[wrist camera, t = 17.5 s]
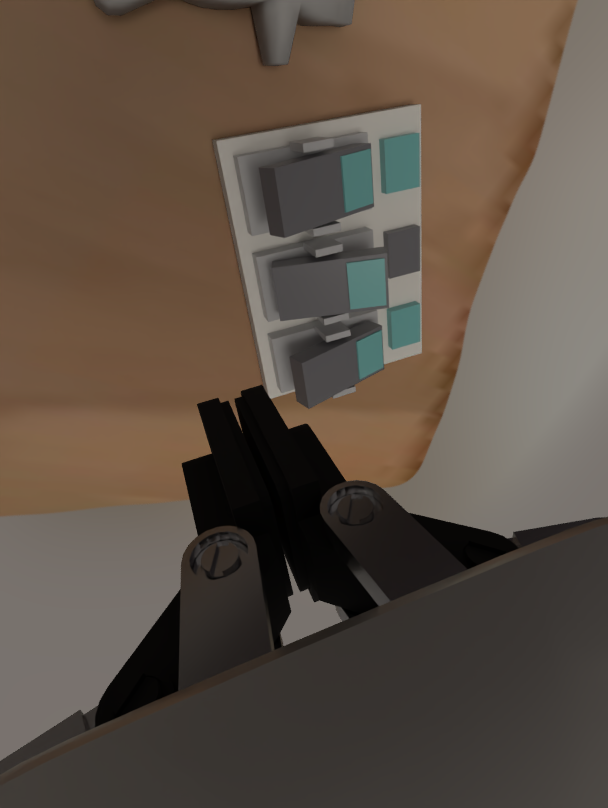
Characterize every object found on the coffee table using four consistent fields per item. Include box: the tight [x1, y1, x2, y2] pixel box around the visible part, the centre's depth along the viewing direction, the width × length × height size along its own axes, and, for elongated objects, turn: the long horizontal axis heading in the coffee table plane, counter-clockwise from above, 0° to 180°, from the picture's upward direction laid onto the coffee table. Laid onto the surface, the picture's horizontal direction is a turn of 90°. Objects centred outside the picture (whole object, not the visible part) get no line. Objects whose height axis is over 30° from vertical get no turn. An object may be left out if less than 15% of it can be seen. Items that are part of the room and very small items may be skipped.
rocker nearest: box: [259, 143, 374, 238], centre depth 32 cm, size 4×8×2 cm, turn 98°
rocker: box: [289, 320, 384, 409], centre depth 39 cm, size 4×8×2 cm, turn 98°
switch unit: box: [212, 104, 422, 399], centre depth 38 cm, size 20×15×5 cm
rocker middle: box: [271, 247, 389, 321], centre depth 35 cm, size 4×8×2 cm, turn 98°
